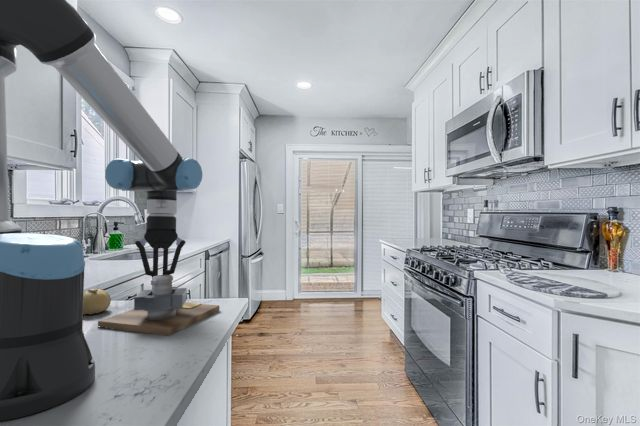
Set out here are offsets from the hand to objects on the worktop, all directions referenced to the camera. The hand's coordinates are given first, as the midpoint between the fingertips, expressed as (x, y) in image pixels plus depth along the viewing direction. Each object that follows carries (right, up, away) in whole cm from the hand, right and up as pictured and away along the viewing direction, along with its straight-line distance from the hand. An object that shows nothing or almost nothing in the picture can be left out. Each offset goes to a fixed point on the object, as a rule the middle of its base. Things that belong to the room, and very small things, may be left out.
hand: (159, 299), depth 91 cm
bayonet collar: (+5, -1, -7) cm, 8 cm away
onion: (-17, -3, -2) cm, 18 cm away
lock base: (+4, -3, -7) cm, 8 cm away
